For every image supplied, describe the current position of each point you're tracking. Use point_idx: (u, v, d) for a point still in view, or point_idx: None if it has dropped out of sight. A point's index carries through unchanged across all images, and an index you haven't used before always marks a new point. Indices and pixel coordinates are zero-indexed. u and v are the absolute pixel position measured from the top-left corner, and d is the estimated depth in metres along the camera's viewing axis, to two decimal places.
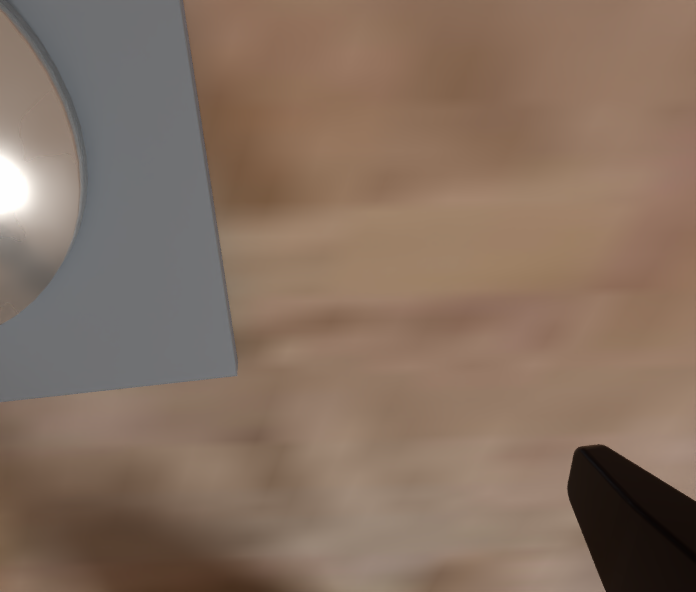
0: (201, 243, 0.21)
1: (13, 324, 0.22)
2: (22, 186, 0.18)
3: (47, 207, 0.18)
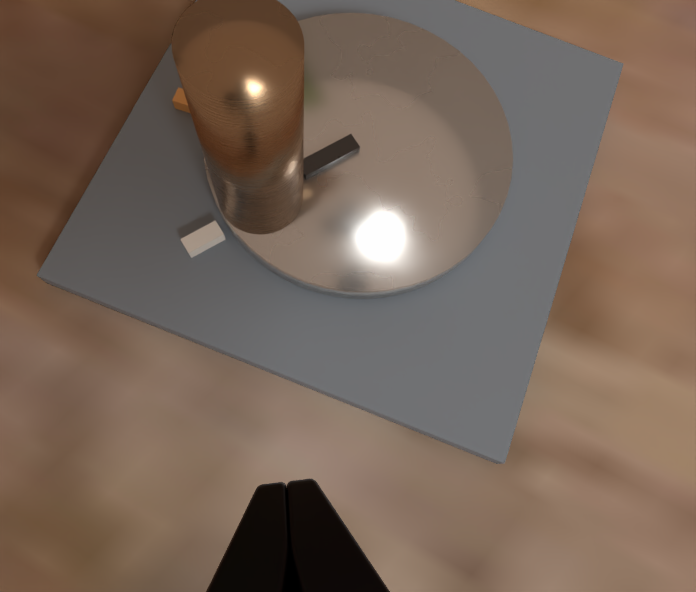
0: (532, 324, 0.25)
1: (354, 316, 0.25)
2: (457, 209, 0.25)
3: (464, 228, 0.24)
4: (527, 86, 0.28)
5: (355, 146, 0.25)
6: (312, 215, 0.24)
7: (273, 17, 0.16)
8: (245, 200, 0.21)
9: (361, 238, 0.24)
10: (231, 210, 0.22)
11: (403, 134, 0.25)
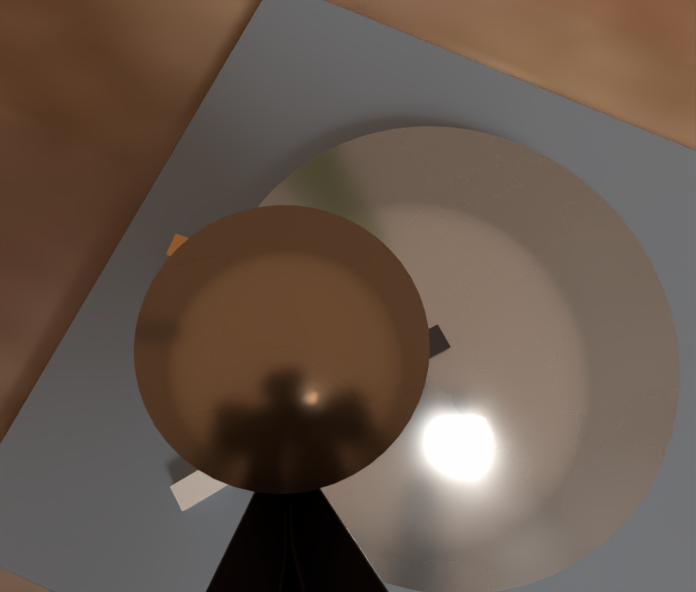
0: None
1: None
2: (595, 455, 0.16)
3: (606, 489, 0.16)
4: (679, 231, 0.20)
5: (444, 346, 0.16)
6: None
7: (364, 277, 0.07)
8: None
9: (445, 499, 0.15)
10: None
11: (515, 325, 0.17)
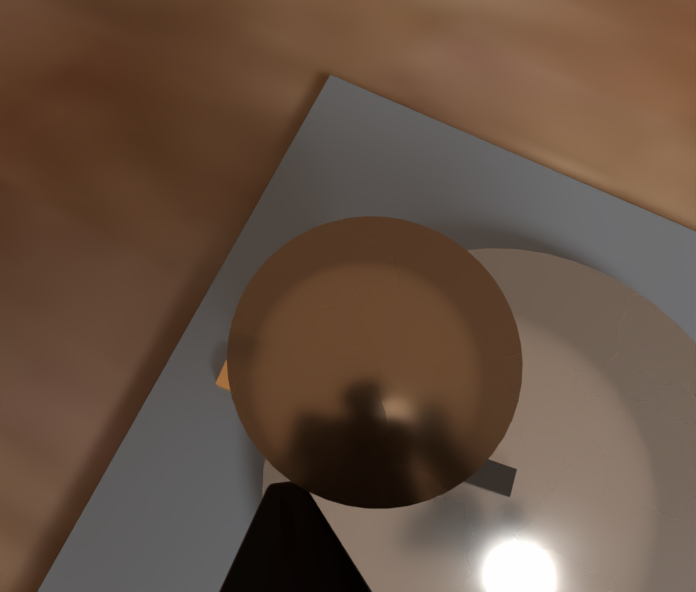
0: None
1: None
2: None
3: None
4: None
5: (505, 490, 0.15)
6: (367, 511, 0.15)
7: (481, 365, 0.07)
8: None
9: None
10: None
11: (581, 535, 0.15)
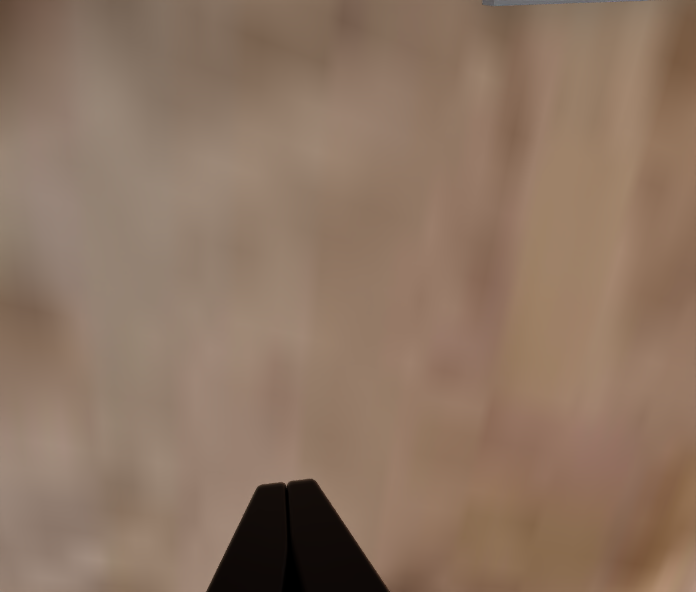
0: None
1: None
2: None
3: None
4: None
5: None
6: None
7: None
8: None
9: None
10: None
11: None
